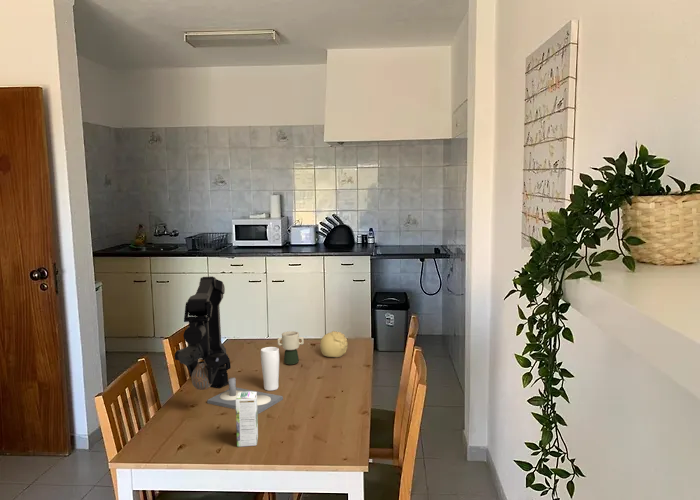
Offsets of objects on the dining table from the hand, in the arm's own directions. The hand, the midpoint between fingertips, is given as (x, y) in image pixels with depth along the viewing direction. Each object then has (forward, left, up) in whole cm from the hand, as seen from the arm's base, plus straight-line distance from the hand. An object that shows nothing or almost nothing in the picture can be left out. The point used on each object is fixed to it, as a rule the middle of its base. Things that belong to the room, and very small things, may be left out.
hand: (202, 381), depth 189 cm
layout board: (+6, +14, -11) cm, 19 cm away
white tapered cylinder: (+7, +28, -11) cm, 31 cm away
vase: (0, 0, -2) cm, 2 cm away
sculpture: (+8, +73, -11) cm, 74 cm away
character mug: (-3, +56, -11) cm, 57 cm away
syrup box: (+27, -11, -11) cm, 31 cm away
